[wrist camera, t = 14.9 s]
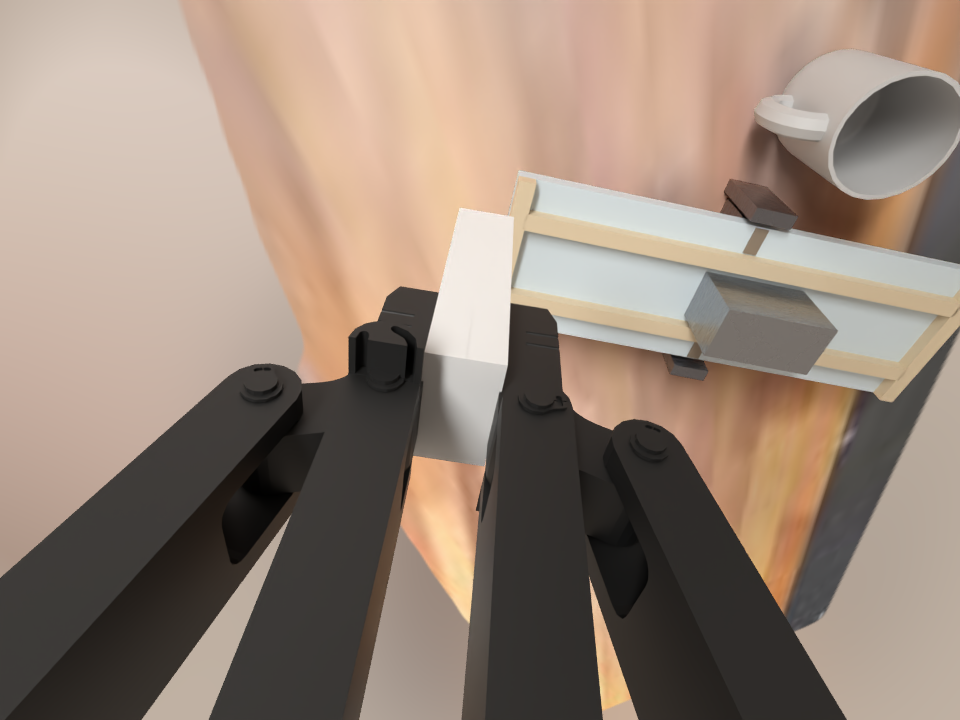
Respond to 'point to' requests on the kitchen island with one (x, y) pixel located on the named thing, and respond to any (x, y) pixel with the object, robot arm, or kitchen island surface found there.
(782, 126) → the cup
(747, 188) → the fulcrum
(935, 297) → the beam
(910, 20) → the kitchen island surface
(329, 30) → the kitchen island surface
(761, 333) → the block
